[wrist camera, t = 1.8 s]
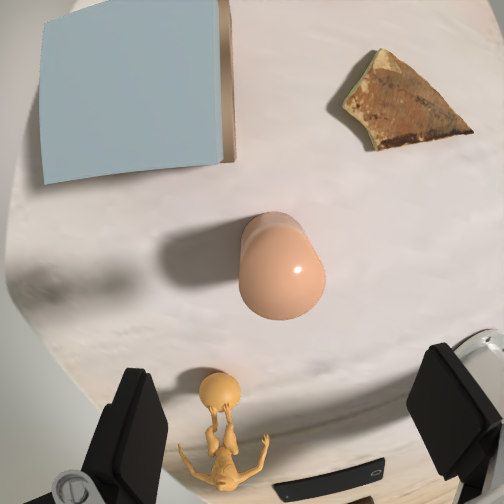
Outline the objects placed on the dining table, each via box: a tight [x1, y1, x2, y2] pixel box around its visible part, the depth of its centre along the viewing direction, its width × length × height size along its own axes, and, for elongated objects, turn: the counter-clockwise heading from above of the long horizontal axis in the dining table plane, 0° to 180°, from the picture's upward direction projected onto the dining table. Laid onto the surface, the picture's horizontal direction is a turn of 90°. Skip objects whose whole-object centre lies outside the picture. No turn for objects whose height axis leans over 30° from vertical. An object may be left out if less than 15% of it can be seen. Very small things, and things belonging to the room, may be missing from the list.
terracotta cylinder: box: [239, 212, 326, 320], centre depth 21 cm, size 5×5×7 cm
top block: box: [39, 0, 223, 185], centre depth 14 cm, size 10×10×4 cm
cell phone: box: [274, 457, 385, 502], centre depth 39 cm, size 9×18×1 cm, turn 105°
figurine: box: [178, 372, 269, 491], centre depth 24 cm, size 8×6×12 cm
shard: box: [342, 48, 474, 152], centre depth 20 cm, size 11×8×2 cm
